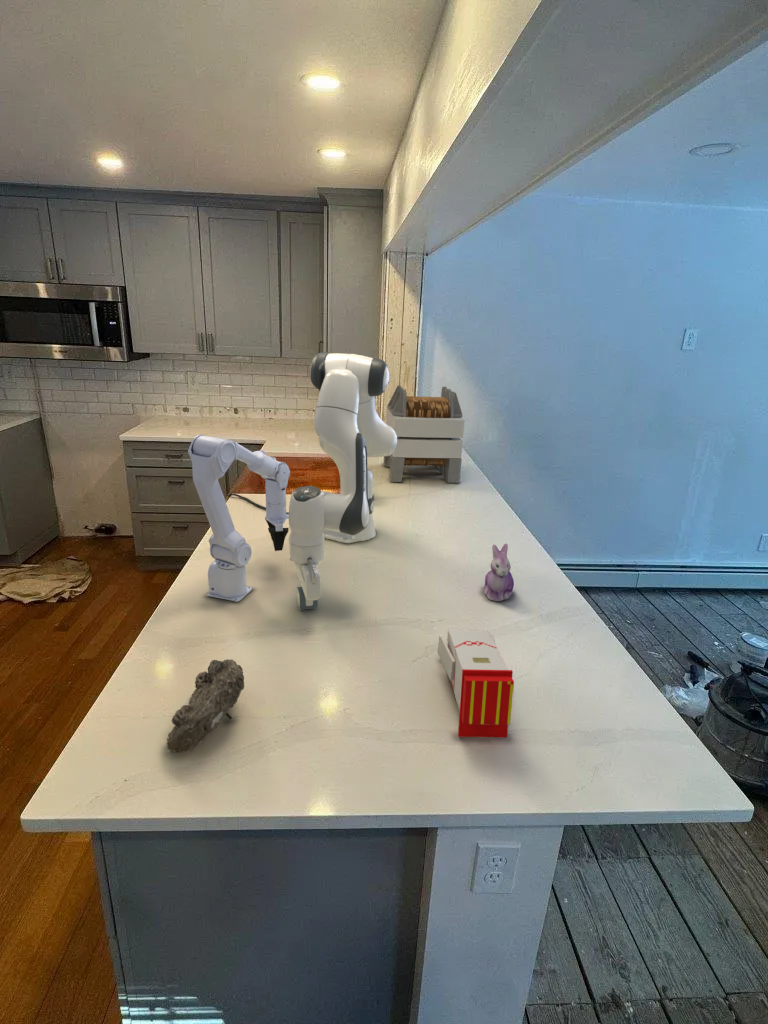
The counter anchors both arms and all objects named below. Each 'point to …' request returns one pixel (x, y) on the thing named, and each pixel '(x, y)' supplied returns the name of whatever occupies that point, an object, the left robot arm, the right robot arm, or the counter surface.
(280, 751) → the counter surface
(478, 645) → the toy
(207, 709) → the fossil
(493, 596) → the figurine
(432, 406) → the transformer
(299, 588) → the block
